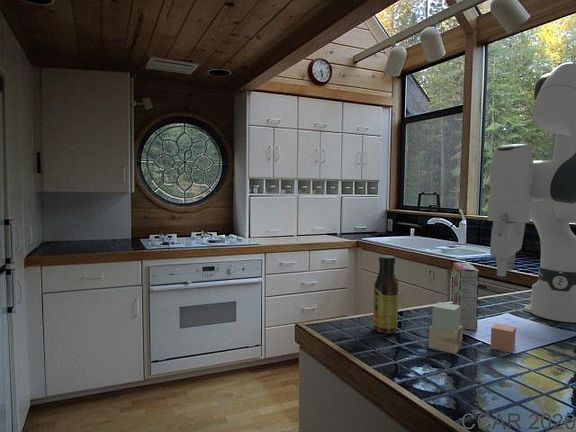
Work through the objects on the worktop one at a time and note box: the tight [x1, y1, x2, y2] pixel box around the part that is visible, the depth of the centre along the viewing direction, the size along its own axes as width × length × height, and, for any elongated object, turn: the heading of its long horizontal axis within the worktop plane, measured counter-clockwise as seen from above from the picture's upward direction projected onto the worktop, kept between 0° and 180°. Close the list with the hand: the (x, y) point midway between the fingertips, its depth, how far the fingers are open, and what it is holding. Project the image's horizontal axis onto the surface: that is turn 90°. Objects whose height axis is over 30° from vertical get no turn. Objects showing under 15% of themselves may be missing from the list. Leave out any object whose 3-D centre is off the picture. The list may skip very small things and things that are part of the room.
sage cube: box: [431, 301, 460, 332], centre depth 100 cm, size 5×5×5 cm
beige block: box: [428, 325, 464, 355], centre depth 101 cm, size 6×6×5 cm
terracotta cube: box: [489, 322, 517, 354], centre depth 101 cm, size 4×4×5 cm
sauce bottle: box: [372, 254, 399, 335], centre depth 111 cm, size 7×6×20 cm
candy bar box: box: [451, 261, 480, 331], centre depth 118 cm, size 11×5×16 cm, turn 168°
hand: (505, 273), depth 100 cm, fingers open, 8 cm apart
